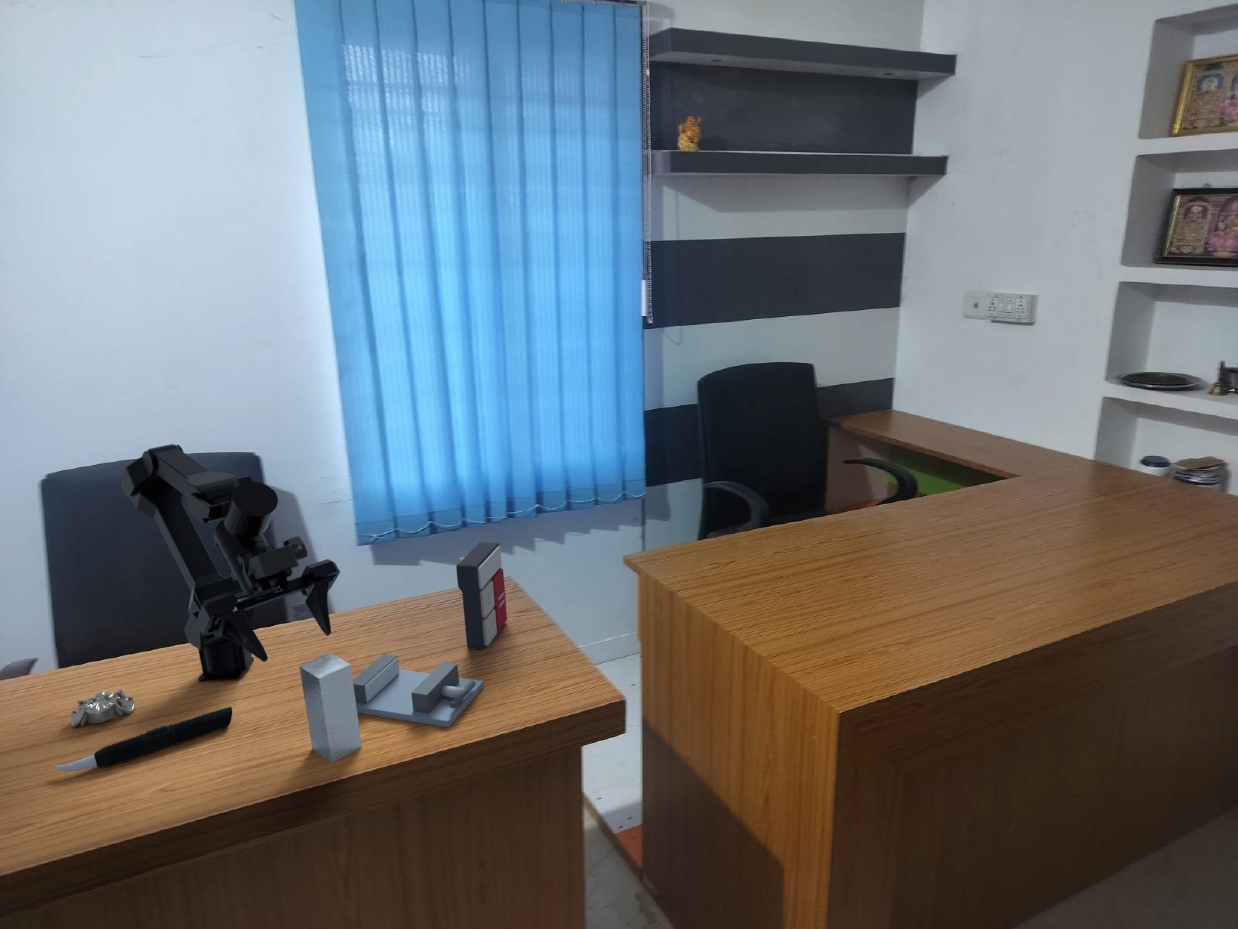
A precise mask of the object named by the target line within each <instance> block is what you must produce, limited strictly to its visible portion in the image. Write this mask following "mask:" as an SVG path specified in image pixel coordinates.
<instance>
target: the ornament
mask: <svg viewBox="0 0 1238 929" xmlns="http://www.w3.org/2000/svg"><path fill="white" fill-rule="evenodd" d="M76 703H77V704H78V705H77V706H78V707H77V710H75V709H72V710H71V713H70V714H71V723H70V724H71V727H73V728H77V727H78V726H81V727H83V726H85V725H86V724H87V723H88V724H100V723H104V722H106V721H109V720H112V719H113V718H114V717H116V716H119V717H124V716H125V715H126V714H128V715H129V714H132V713H133V712H134V710H135V701H134V698H133V696H132V695H130V696H128V697H127V696H126V694H125V692H124V691H123V690H122V689H121V690H117V691H115V692H110V691H106V690H103V691H99V692H98V693H96V694H95V695H94V697H91V698H88V699H83V700H82V699H81V700H77V701H76Z"/></svg>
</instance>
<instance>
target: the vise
mask: <svg viewBox="0 0 1238 929" xmlns="http://www.w3.org/2000/svg"><path fill="white" fill-rule="evenodd" d="M458 668H459V667H458V663H453V662H446V661H442V662H441V663H440V664H439V665H438V666H436V668H435V669H434V670H433V671H431V673H427V672H421V671H413V670H407V669H401V668H400V666H399V657H398V655H395V654H386V653H383V654H381V655H380V656H379V657H378V658H377V659H376V660H374V661H373V662H372V663H371V664H370V665H368V666H367V667H366V668H365V669H363V671H361V672H360V673H359V674H358V675H356V677H354V678H353V686H354V693H355V700H356V708H357V714H364V715H370V716H376V717H381V718H389V719H395V720H401V721H407V722H413V723H418V724H419V723H420V724H426V725H433V726H439V727H445V728H449V727H451V725H452V724H453V723H454V721H455V720H457V718H458V717H459V716H460V714H462V713H463V711H464V710H465V709H466V708H467V707H468V706H469V705H470V703H471V702H472V701H473V700H474V699H475V698H476V696H477V695H478V694H479V693H480V692H481V690H483V688H484V687H485V686H484V680H477V679H472V678H465V677H460V676H459V669H458Z"/></svg>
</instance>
